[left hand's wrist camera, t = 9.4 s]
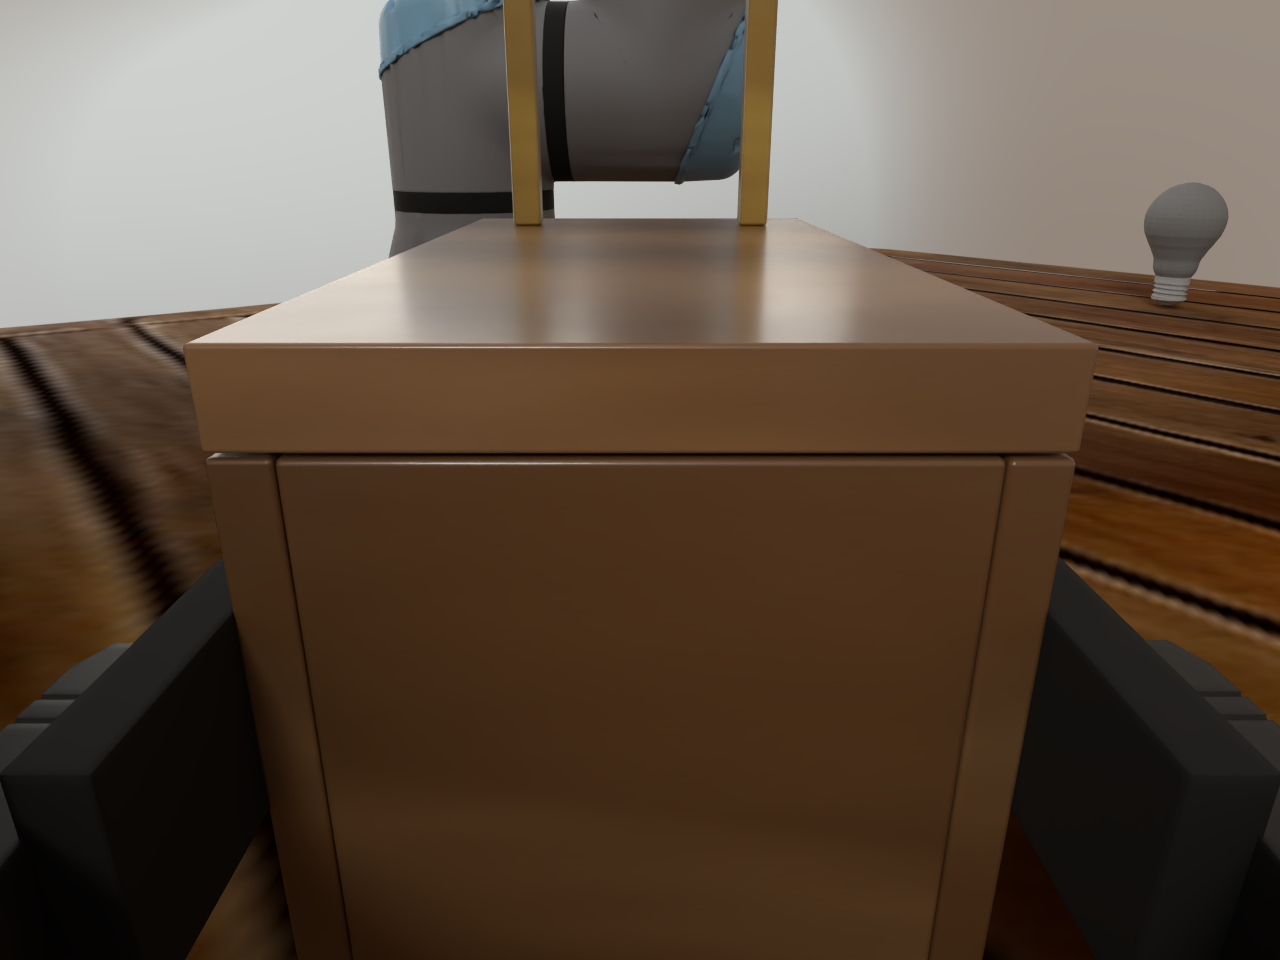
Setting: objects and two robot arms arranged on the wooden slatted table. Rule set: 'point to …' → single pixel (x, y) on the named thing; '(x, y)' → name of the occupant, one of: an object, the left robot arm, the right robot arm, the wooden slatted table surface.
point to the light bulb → (1182, 236)
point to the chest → (640, 696)
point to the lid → (640, 333)
